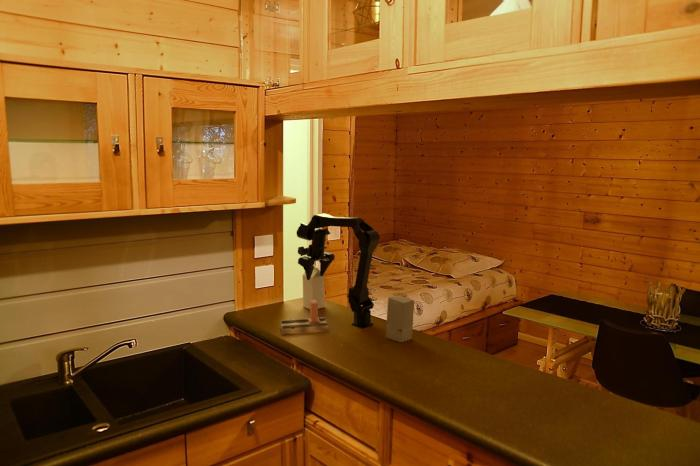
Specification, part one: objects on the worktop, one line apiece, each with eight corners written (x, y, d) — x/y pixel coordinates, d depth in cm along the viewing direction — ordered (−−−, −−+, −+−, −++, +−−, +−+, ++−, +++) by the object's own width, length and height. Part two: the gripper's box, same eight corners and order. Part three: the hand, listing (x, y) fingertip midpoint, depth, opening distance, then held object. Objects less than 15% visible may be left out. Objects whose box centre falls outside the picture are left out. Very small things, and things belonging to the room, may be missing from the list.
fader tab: (318, 320, 219) (317, 299, 218) (319, 324, 215) (319, 303, 213) (308, 321, 219) (308, 300, 217) (309, 325, 214) (309, 303, 212)
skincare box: (385, 337, 206) (385, 297, 203) (397, 333, 211) (398, 294, 208) (401, 343, 200) (402, 302, 197) (414, 339, 204) (415, 298, 202)
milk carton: (312, 310, 240) (312, 269, 237) (303, 307, 245) (302, 266, 242) (325, 307, 245) (324, 266, 241) (315, 303, 250) (314, 264, 247)
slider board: (324, 323, 223) (324, 316, 222) (328, 331, 213) (328, 324, 213) (280, 326, 219) (280, 319, 219) (282, 334, 210) (282, 327, 209)
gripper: (316, 236, 241) (313, 269, 244) (289, 241, 225) (286, 277, 229) (336, 241, 235) (333, 275, 238) (310, 247, 220) (306, 284, 223)
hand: (314, 277), depth 232 cm, fingers open, 9 cm apart
